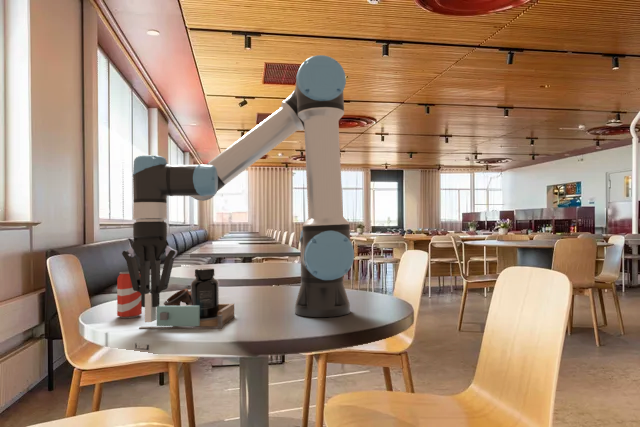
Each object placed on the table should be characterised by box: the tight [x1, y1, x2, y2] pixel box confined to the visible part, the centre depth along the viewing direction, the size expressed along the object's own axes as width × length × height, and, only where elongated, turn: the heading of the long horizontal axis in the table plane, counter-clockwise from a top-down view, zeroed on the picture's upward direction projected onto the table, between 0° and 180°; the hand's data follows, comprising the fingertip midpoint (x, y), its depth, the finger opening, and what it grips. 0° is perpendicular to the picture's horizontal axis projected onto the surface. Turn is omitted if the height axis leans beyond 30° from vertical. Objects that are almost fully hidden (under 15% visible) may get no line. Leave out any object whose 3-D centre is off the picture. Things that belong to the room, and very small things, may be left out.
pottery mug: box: [163, 288, 191, 306], centre depth 125 cm, size 12×10×8 cm
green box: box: [156, 305, 200, 326], centre depth 107 cm, size 10×2×5 cm, turn 86°
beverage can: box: [116, 271, 143, 319], centre depth 124 cm, size 6×6×12 cm
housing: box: [138, 303, 235, 330], centre depth 114 cm, size 20×15×4 cm
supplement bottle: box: [190, 267, 220, 318], centre depth 116 cm, size 7×7×12 cm
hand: (150, 320), depth 108 cm, fingers closed
